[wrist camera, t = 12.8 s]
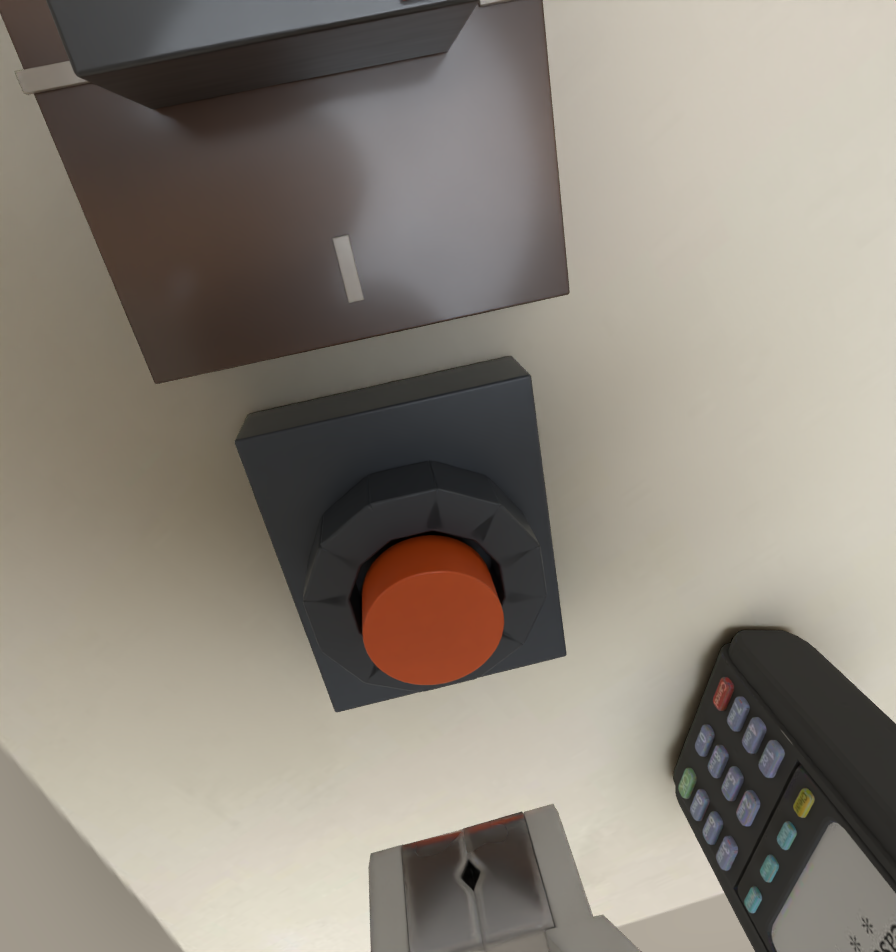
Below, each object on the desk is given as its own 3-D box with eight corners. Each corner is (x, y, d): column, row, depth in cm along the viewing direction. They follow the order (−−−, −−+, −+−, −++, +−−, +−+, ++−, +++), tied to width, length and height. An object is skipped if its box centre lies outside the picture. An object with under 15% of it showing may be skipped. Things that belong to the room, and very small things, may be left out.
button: (347, 551, 16) (345, 591, 14) (479, 520, 16) (493, 556, 14) (379, 654, 17) (381, 699, 16) (499, 625, 18) (513, 667, 16)
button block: (246, 413, 17) (218, 469, 14) (512, 354, 18) (551, 394, 14) (337, 667, 22) (333, 759, 18) (548, 615, 22) (585, 696, 19)
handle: (150, 110, 12) (67, 74, 8) (115, 10, 11) (9, -73, 8) (450, 51, 12) (486, -7, 9) (434, -51, 11) (467, -157, 8)
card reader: (714, 617, 23) (1199, 1188, 10) (804, 618, 24) (1373, 1153, 11) (653, 782, 27) (946, 1360, 14) (733, 778, 28) (1087, 1326, 14)
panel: (-54, -259, 11) (-192, -412, 8) (469, -346, 12) (505, -519, 9) (183, 355, 17) (148, 387, 14) (539, 278, 17) (577, 294, 14)
